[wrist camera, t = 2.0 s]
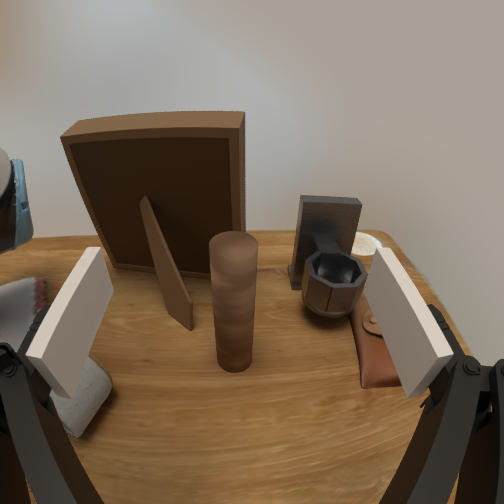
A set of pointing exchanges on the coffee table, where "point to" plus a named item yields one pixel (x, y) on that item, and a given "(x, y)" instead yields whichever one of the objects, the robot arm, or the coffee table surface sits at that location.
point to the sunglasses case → (372, 349)
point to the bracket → (327, 255)
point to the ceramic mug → (84, 397)
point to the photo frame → (162, 190)
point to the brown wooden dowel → (233, 297)
